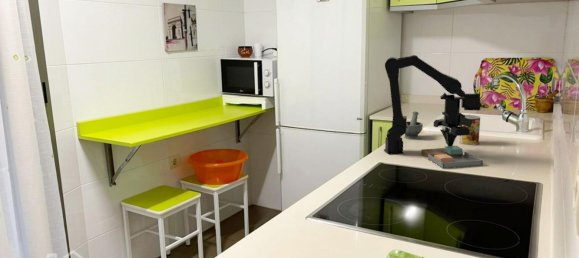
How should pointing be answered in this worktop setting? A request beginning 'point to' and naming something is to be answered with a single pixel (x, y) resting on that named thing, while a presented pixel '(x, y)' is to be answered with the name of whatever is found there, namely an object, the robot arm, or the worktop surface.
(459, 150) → the teal tile
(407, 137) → the mortar and pestle
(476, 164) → the grey tray
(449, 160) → the terracotta tile
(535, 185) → the worktop surface
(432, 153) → the walnut step
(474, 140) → the canned food
